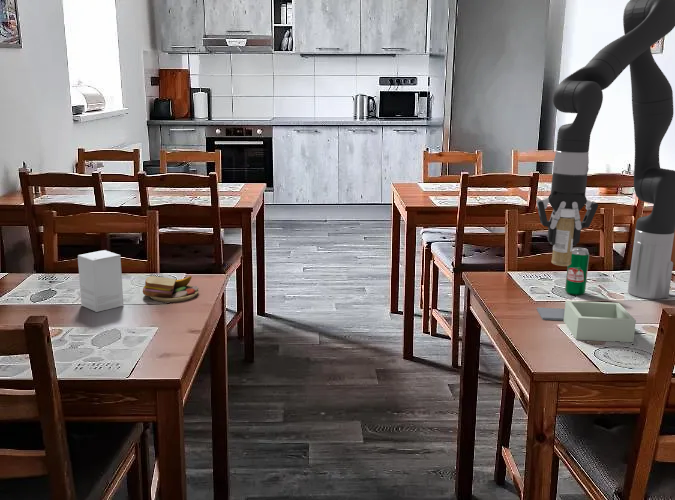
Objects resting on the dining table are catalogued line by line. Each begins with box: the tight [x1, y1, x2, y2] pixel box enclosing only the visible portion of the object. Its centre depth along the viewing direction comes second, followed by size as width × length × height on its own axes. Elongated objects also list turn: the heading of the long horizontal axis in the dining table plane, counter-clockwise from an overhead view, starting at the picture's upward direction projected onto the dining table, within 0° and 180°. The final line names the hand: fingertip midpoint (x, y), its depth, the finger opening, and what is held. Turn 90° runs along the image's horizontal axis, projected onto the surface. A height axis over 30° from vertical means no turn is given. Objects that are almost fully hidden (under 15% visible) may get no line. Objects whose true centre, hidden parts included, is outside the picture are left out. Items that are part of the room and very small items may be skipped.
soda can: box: [564, 246, 590, 296], centre depth 183 cm, size 5×5×12 cm
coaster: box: [536, 307, 565, 322], centre depth 166 cm, size 8×8×1 cm
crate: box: [563, 300, 637, 343], centre depth 155 cm, size 12×12×5 cm
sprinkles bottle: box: [551, 209, 575, 267], centre depth 162 cm, size 5×5×14 cm
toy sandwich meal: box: [142, 275, 200, 303], centre depth 175 cm, size 12×14×5 cm
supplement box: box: [77, 249, 124, 313], centre depth 165 cm, size 7×7×13 cm
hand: (562, 244), depth 162 cm, fingers closed on sprinkles bottle, 4 cm apart
